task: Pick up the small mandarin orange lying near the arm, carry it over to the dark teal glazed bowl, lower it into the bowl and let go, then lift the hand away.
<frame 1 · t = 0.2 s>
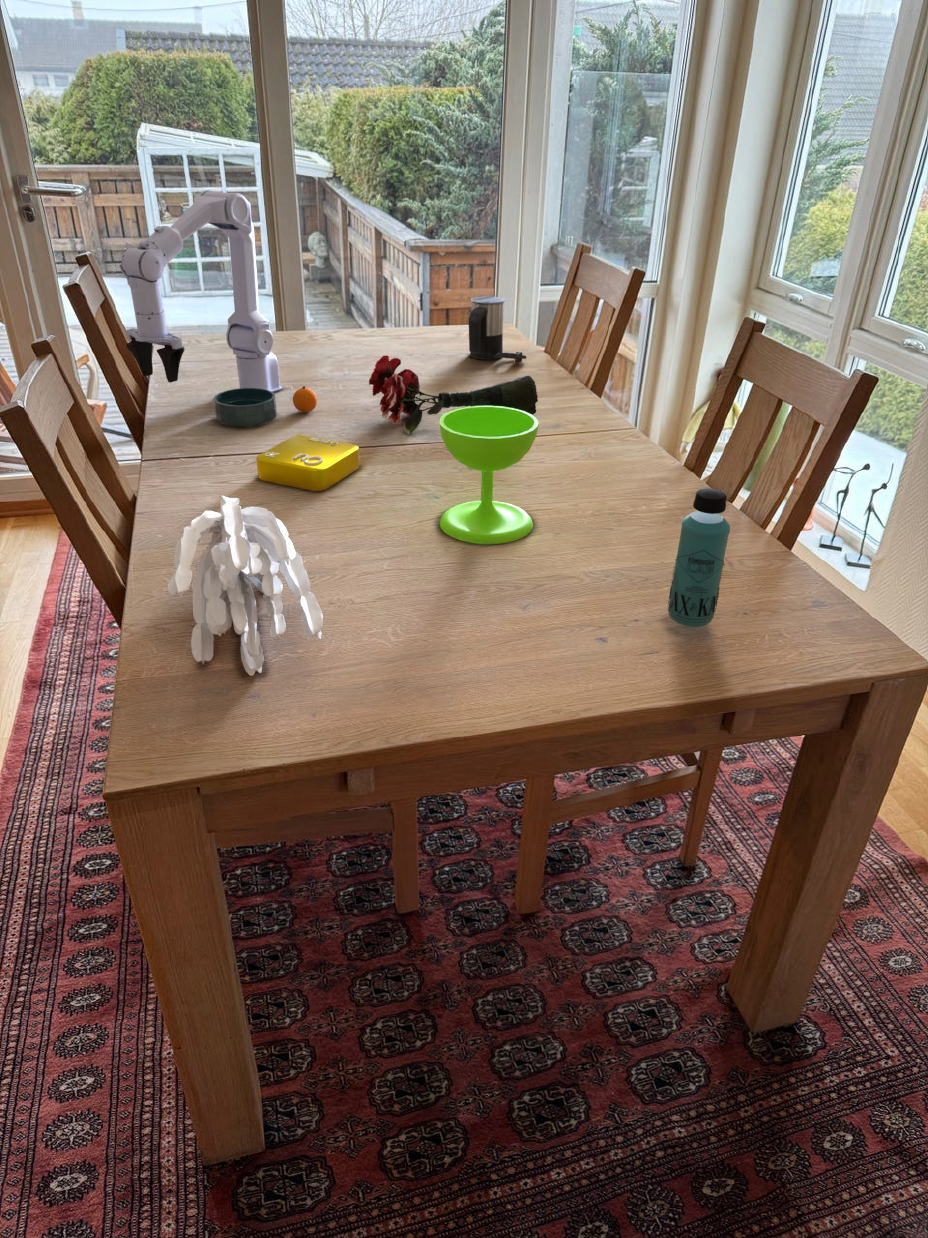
hand: (160, 378, 193), 10 cm above the table, tool pointing down, fingers open, 7 cm apart
wineglass: (486, 524, 156), on the table
beverage bottle: (689, 626, 128), on the table
mandarin: (305, 399, 204), point 3 cm above the table
bowl: (247, 418, 201), on the table
element tile: (309, 473, 175), on the table
carnation: (452, 420, 202), on the table
milk frother: (497, 359, 245), on the table
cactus: (250, 616, 129), on the table
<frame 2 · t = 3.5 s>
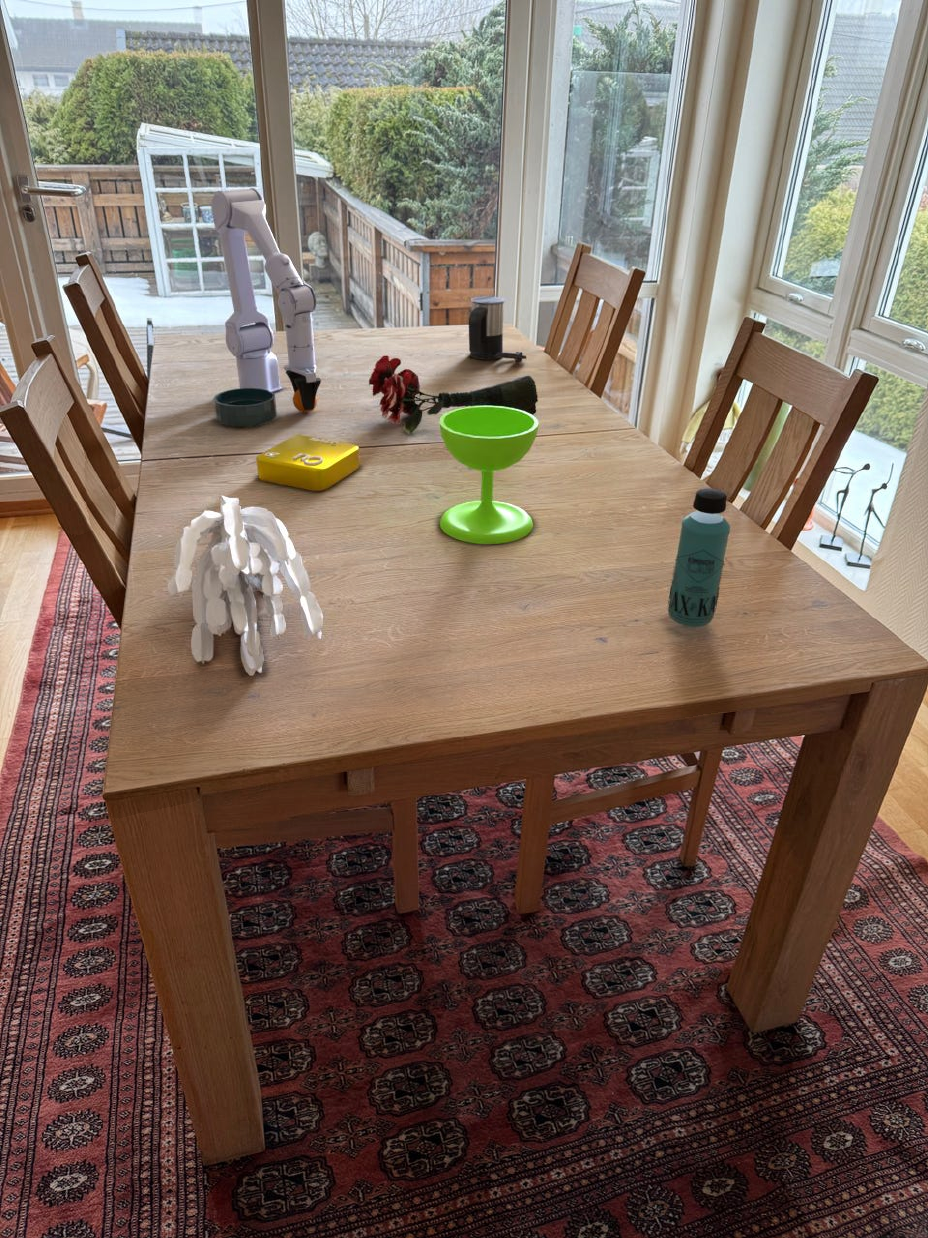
hand: (305, 405, 205), 1 cm above the table, tool pointing down, fingers closed on mandarin, 5 cm apart
mandarin: (305, 400, 204), point 3 cm above the table, touching gripper
everything else where it was.
when the fingers open (2 cm above the table, at t = 8.1 s): mandarin moves 1 cm, resting on bowl.
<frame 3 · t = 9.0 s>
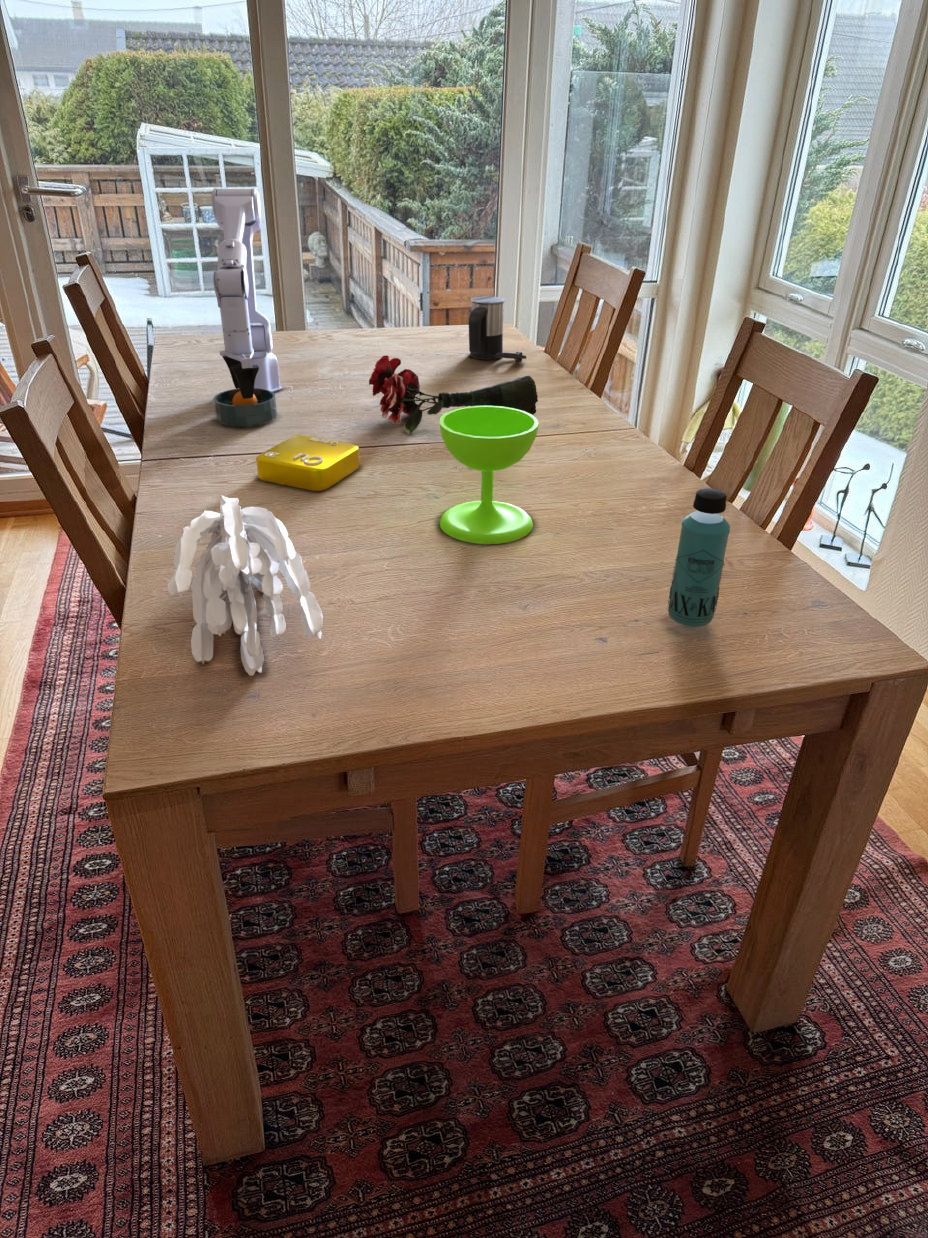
hand: (244, 392, 198), 6 cm above the table, tool pointing down, fingers open, 7 cm apart
mandarin: (245, 402, 200), point 3 cm above the table, tilted 23°, touching bowl
everything else where it was.
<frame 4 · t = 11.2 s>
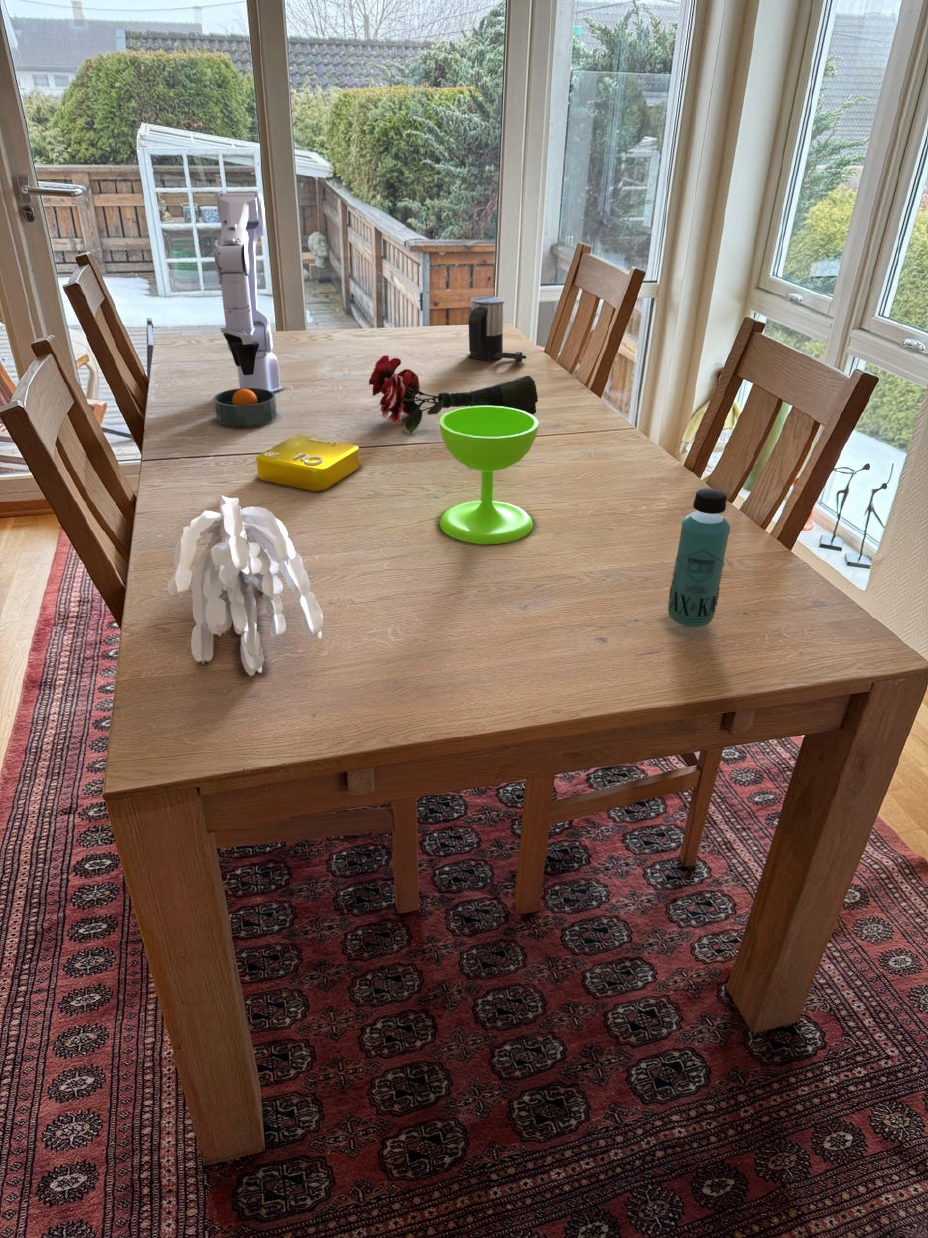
hand: (244, 369, 201), 9 cm above the table, tool pointing down, fingers open, 7 cm apart
mandarin: (244, 401, 201), point 3 cm above the table, tilted 47°, touching bowl
everything else where it was.
at the end: mandarin inside the target area in the bowl (2.1 cm from its centre), point 3.3 cm above the bowl's base; the gripper is holding nothing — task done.
